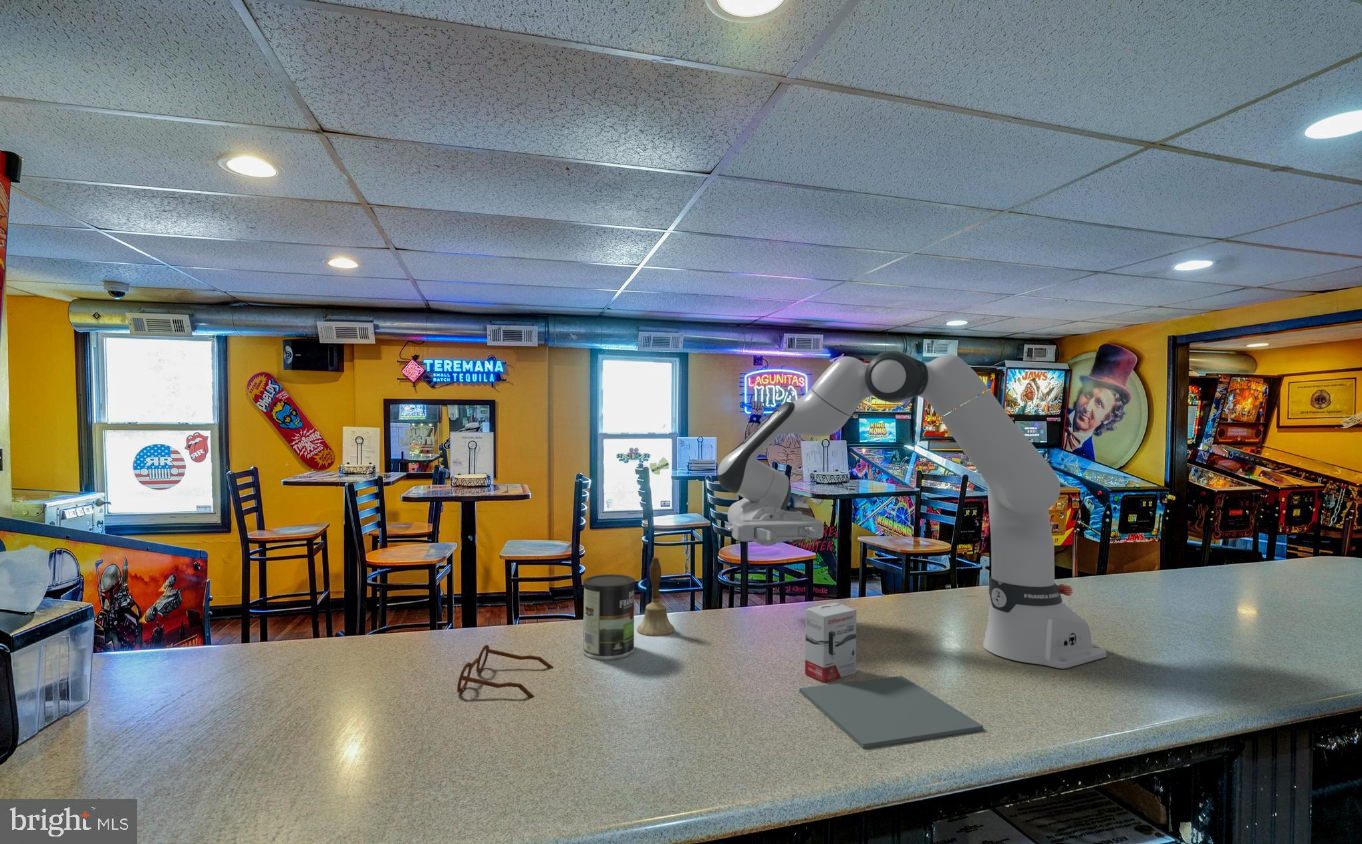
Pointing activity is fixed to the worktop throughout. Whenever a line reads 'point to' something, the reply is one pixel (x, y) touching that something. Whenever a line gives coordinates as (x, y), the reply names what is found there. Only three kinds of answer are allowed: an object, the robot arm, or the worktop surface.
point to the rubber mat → (888, 711)
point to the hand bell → (655, 608)
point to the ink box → (830, 642)
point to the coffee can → (608, 616)
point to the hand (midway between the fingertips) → (793, 535)
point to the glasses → (492, 684)
